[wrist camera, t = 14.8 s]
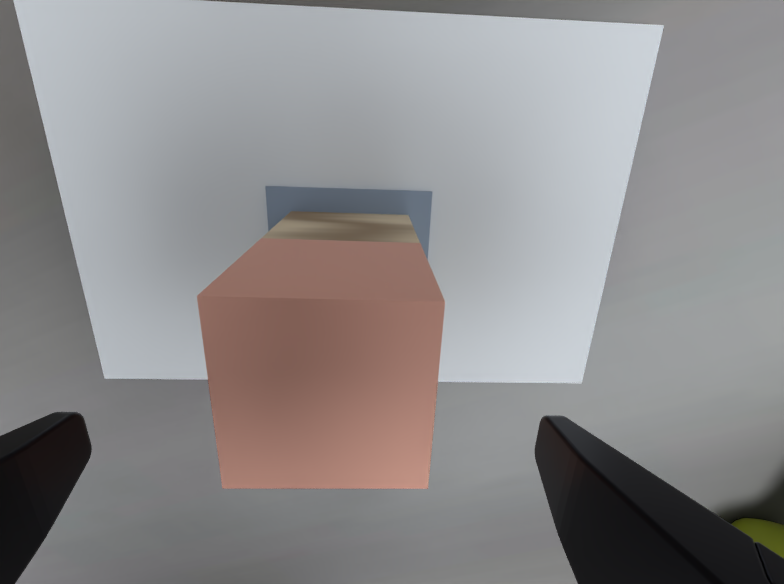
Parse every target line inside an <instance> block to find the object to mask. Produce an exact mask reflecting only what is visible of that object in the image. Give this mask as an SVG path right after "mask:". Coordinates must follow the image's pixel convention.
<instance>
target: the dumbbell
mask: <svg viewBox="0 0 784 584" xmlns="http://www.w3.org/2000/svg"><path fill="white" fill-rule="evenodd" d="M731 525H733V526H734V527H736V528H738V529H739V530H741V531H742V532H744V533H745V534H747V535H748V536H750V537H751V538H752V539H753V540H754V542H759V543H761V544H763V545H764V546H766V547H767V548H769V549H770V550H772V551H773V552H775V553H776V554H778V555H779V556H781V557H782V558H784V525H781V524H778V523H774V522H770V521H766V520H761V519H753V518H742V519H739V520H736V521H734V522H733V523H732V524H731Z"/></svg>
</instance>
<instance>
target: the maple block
mask: <svg viewBox="0 0 784 584" xmlns="http://www.w3.org/2000/svg"><path fill="white" fill-rule="evenodd" d="M262 238H273V239H305V240H338V241H370V242H403V243H420V242H419V239H418V237H417V234H416V232H415V230H414V227H413V225H412V223H411V220H410V218H409V216H408V215H396V214H365V213H333V212H302V211H291V212H290V213H289V214H287V215H286V216H285V217H284V218H283V219H282V220H281V221H280V222H279V223H277V224H276V225H275V226H274V227H273V228H272V229H271V230H270V231H269V232H267V233H266V234H265V235H264V236H263V237H262Z"/></svg>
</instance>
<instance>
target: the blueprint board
mask: <svg viewBox="0 0 784 584" xmlns="http://www.w3.org/2000/svg"><path fill="white" fill-rule="evenodd" d="M14 5H15V9H16V13H17V17H18V21H19V25H20V29H21V34H22V38H23V42H24V46H25V50H26V54H27V58H28V63H29V67H30V71H31V75H32V79H33V83H34V88H35V92H36V96H37V100H38V104H39V108H40V112H41V117H42V121H43V125H44V129H45V133H46V137H47V141H48V146H49V150H50V154H51V158H52V162H53V166H54V170H55V175H56V179H57V183H58V187H59V191H60V195H61V199H62V204H63V208H64V212H65V216H66V220H67V224H68V229H69V233H70V237H71V241H72V245H73V249H74V253H75V258H76V262H77V266H78V270H79V274H80V278H81V282H82V287H83V291H84V295H85V299H86V303H87V307H88V311H89V316H90V320H91V324H92V328H93V332H94V336H95V341H96V345H97V349H98V353H99V357H100V361H101V365H102V370H103V374H104V378H105V379H202V380H208V376H207V369H206V361H205V354H204V346H203V339H202V331H201V324H200V317H199V309H198V302H197V295H198V294H199V293H201V292H202V291H203V290H204V289H205V288H206V287H207V286H208V285H210V284H211V283H212V282H213V281H214V280H215V279H216V278H217V277H218V276H220V275H221V274H222V273H223V272H224V271H225V270H226V269H227V268H228V267H230V266H231V265H232V264H233V263H234V262H235V261H236V260H237V259H239V258H240V257H241V256H242V255H243V254H244V253H245V252H246V251H247V250H249V249H250V248H251V247H252V246H253V245H254V244H255V243H256V242H257V241H259V240H260V239H261V238H262V237H263V236H264V235H265V234H266V233H267V232H269V231H270V230H271V229H272V228H273V227H274V226H275V225H276V224H277V223H279V222H280V221H281V220H282V219H283V218H284V217H285V216H286V215H287V214H289V213H290V212H291V211H302V212H333V213H365V214H396V215H408V216H409V218H410V220H411V223H412V225H413V227H414V230H415V232H416V234H417V237H418V239H419V242H420V243H421V246H422V248H423V251H424V253H425V255H426V258H427V260H428V262H429V265H430V267H431V269H432V272H433V274H434V276H435V279H436V281H437V284H438V286H439V288H440V291H441V293H442V295H443V298H444V300H445V310H444V321H443V331H442V342H441V353H440V364H439V375H438V382H508V383H582V379H583V375H584V371H585V366H586V362H587V358H588V353H589V349H590V345H591V340H592V336H593V332H594V327H595V323H596V318H597V314H598V310H599V305H600V301H601V297H602V292H603V288H604V284H605V279H606V275H607V271H608V266H609V262H610V258H611V253H612V249H613V245H614V240H615V236H616V232H617V227H618V223H619V218H620V214H621V210H622V205H623V201H624V197H625V192H626V188H627V184H628V179H629V175H630V171H631V166H632V162H633V158H634V153H635V149H636V145H637V140H638V136H639V132H640V127H641V123H642V118H643V114H644V110H645V105H646V101H647V97H648V92H649V88H650V84H651V79H652V75H653V71H654V66H655V62H656V58H657V53H658V49H659V45H660V40H661V36H662V32H663V27H664V25H647V24H629V23H610V22H592V21H573V20H554V19H536V18H517V17H498V16H480V15H461V14H442V13H424V12H405V11H387V10H368V9H349V8H331V7H312V6H293V5H275V4H256V3H238V2H219V1H200V0H14Z"/></svg>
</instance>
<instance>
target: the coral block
mask: <svg viewBox="0 0 784 584" xmlns="http://www.w3.org/2000/svg"><path fill="white" fill-rule="evenodd" d="M197 302H198V309H199V317H200V324H201V331H202V339H203V346H204V354H205V361H206V369H207V376H208V384H209V391H210V399H211V406H212V414H213V421H214V428H215V436H216V443H217V451H218V458H219V466H220V473H221V481H222V488H223V489H428V482H429V472H430V461H431V450H432V439H433V428H434V418H435V407H436V396H437V385H438V375H439V364H440V353H441V342H442V331H443V321H444V310H445V300H444V298H443V295H442V293H441V291H440V288H439V286H438V284H437V281H436V279H435V276H434V274H433V272H432V269H431V267H430V265H429V262H428V260H427V258H426V255H425V253H424V251H423V248H422V246H421V243H403V242H370V241H338V240H305V239H273V238H261V239H260V240H259V241H257V242H256V243H255V244H254V245H253V246H252V247H251V248H250V249H249V250H247V251H246V252H245V253H244V254H243V255H242V256H241V257H240V258H239V259H237V260H236V261H235V262H234V263H233V264H232V265H231V266H230V267H228V268H227V269H226V270H225V271H224V272H223V273H222V274H221V275H220V276H218V277H217V278H216V279H215V280H214V281H213V282H212V283H211V284H210V285H208V286H207V287H206V288H205V289H204V290H203V291H202V292H201V293H199V294H198V295H197Z"/></svg>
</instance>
